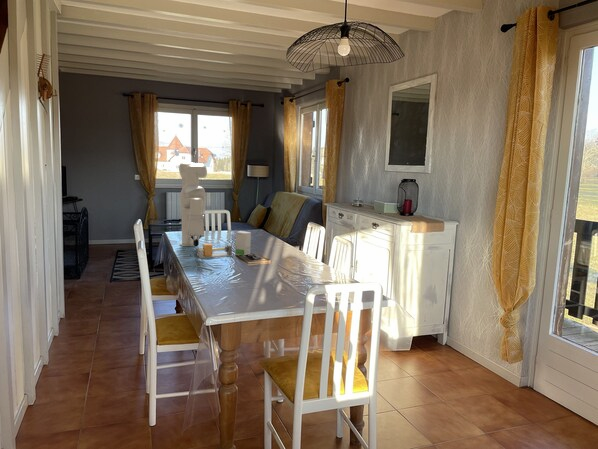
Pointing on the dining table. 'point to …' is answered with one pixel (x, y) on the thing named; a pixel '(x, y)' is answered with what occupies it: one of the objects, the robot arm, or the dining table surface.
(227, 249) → the rail
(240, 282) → the dining table surface
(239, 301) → the dining table surface
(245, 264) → the dining table surface
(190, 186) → the robot arm
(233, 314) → the dining table surface
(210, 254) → the sleeve
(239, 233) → the skincare box
